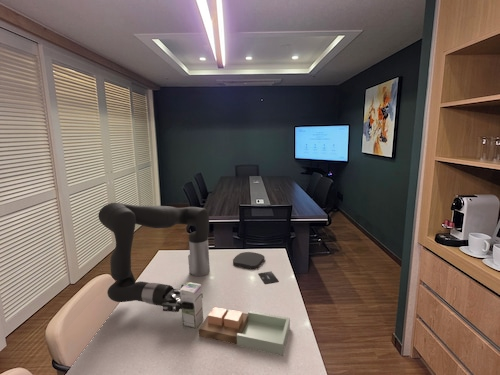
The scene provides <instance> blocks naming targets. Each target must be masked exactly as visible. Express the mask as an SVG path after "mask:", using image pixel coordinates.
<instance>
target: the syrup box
mask: <svg viewBox="0 0 500 375" xmlns="http://www.w3.org/2000/svg"><path fill="white" fill-rule="evenodd" d="M183 285H184V286H183V287H182V288H181V287H180V288H181V289H180V288H179V289H180V297H181V300H182V301H183V302H184V301H185V302H190V303H193V304H194V309H193V310H191V309H190V310H189V309H181V318H182V319H181V320H182V326H184V327H190V328H195V329H197V328H199V325H200V324H202V321H203V320H204V312H203V311H204V309H203V298H202V296H203V290H202V284H200V283H196V282H190V281H187V282H186V283H185V284H183Z"/></svg>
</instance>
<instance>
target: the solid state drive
mask: <svg viewBox="0 0 500 375" xmlns="http://www.w3.org/2000/svg"><path fill="white" fill-rule="evenodd" d="M258 276H259V278H260V279H261V281H262V283H263V284H264V285H269V284H274V283H275V284H276V283H279V281H280V280H279V279H278V278H277V277H276V275H275V274H274V272H272V270H271V271H266V272H265V271H264V272H260V273H258Z"/></svg>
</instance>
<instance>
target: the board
mask: <svg viewBox="0 0 500 375" xmlns="http://www.w3.org/2000/svg"><path fill="white" fill-rule="evenodd" d="M228 311H229V309H227V313H228ZM203 320H204V321H203V322H201V323H200V324H201V325H200V326H198V337H199V338H205V339H209V340H213V341H217V342H218V341H220V342H223V343H227V344H228V343H229V344H232V345H236V346H237V333H240V334H242V333H243V331H244V329H245V327H246V325H247V323H248V313H243V320H242V322H241V324H240V326H239V328H238V329H235V328H230V327H225V326H224V323H223V324H222V326H220V325H215V324H210V323H208V315H207V316H206V317H205V319H203Z"/></svg>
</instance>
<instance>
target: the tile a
mask: <svg viewBox="0 0 500 375" xmlns="http://www.w3.org/2000/svg"><path fill="white" fill-rule="evenodd" d="M227 310H228V309H227V308H222V307H217V306H214V307H213V308H211V310H210V312H209V313H208V315H207V316H208V323H210V324H215V325H220V326H222V324H223V323H224V318H225V316H226V314H227Z"/></svg>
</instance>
